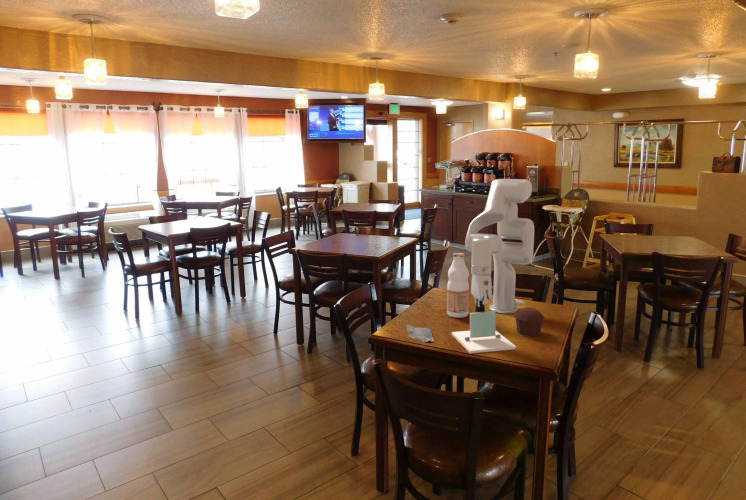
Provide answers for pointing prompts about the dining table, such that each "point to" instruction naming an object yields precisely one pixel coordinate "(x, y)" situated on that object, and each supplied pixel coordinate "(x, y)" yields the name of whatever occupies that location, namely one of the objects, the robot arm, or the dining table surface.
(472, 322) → the tile
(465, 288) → the fruit juice
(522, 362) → the dining table surface
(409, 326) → the stone slab
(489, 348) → the board
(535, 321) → the muffin
